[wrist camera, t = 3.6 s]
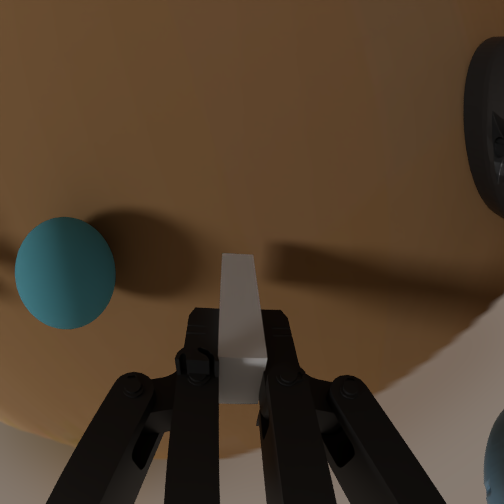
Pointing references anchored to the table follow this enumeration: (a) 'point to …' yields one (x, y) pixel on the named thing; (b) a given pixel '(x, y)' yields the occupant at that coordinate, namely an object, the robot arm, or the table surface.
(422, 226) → the table surface
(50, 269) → the ball
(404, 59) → the table surface
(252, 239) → the table surface
